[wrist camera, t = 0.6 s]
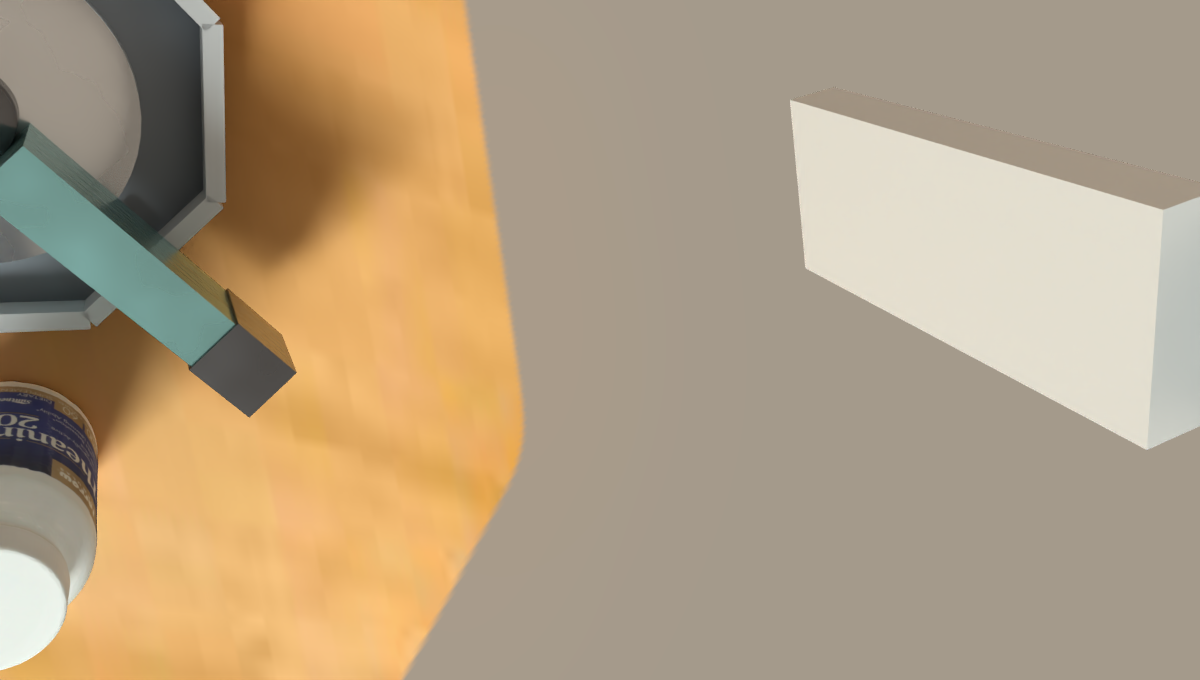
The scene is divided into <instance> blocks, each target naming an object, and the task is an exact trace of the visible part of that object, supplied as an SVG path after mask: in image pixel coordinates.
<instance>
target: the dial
mask: <svg viewBox="0 0 1200 680" xmlns="http://www.w3.org/2000/svg"><path fill="white" fill-rule="evenodd" d="M140 138H141V110H140V101H139V94H138V88H137V84H136V80H135V76H134V72H133V69H132V67H131V64H130V62H129V59H128V57H127V54H126V52H125V50H124V48H123V46H122V44H121V42H120V41H119V39H118V37H117V35H116V33H115V32H114V30H113V29H112V28H111V26H110V25H109V23H108V22H107V21H106V19H105V18H104V17H103V15H102V14H101V13H100V12H99V11H98V10H97V9H96V7H95V6H94V5H93V4H92V3H91V2H90V1H89V0H0V263H6V262H11V261H17V260H22V259H27V258H30V257H33V256H37V255H40V254H43V253H46V252H47V253H48V254H50V255H51V256H52V257H53V258H55V259H56V260H57V261H58V262H60V263H61V264H62V265H63V266H65V267H66V268H67V269H69V270H70V271H71V272H72V273H74V274H75V275H76V276H77V277H79V278H80V279H81V280H82V281H84V282H85V283H86V284H88V285H89V286H90V287H91V288H93V289H94V290H95V291H96V292H98V293H99V294H100V295H101V296H103V297H104V298H105V299H107V300H108V301H109V302H110V303H112V304H113V305H114V306H115V307H117V308H118V309H119V310H120V311H122V312H123V313H124V314H126V315H127V316H128V317H129V318H131V319H132V320H133V321H134V322H136V323H137V324H138V325H139V326H141V327H142V328H143V329H145V330H146V331H147V332H148V333H150V334H151V335H152V336H153V337H155V338H156V339H157V340H158V341H160V342H161V343H162V344H164V345H165V346H166V347H167V348H169V349H170V350H171V351H172V352H174V353H175V354H176V355H177V356H179V357H180V358H181V359H182V360H184V361H185V362H186V363H188V366H189V370H190V371H191V372H192V373H193V374H195V375H196V376H197V377H199V378H200V379H201V380H202V381H204V382H205V383H206V384H207V385H209V386H210V387H211V388H212V389H214V390H215V391H216V392H218V393H219V394H220V395H221V396H223V397H224V398H225V399H226V400H228V401H229V402H230V403H232V404H233V405H234V406H235V407H237V408H238V409H239V410H240V411H242V412H243V413H244V414H246V415H247V416H248V417H250V416H251V415H253V414H254V413H255V412H256V411H257V410H258V409H259V408H260V407H261V406H262V405H263V404H264V403H265V402H266V401H267V400H268V399H269V398H271V397H272V396H273V395H274V394H275V393H276V392H277V391H278V390H279V389H280V388H281V387H282V386H283V385H284V384H285V383H286V382H287V381H288V380H290V379H291V378H292V377H293V376H294V375H295V374H296V373H297V372H296V370H295V367H294V365H293V362H292V359H291V357H290V354H289V352H288V349H287V347H286V344H285V342H284V339H283V337H282V335H281V334H280V333H279V332H278V331H277V330H276V329H274V328H273V327H272V326H271V325H270V324H269V323H268V322H266V321H265V320H264V319H263V318H262V317H261V316H259V315H258V314H257V313H256V312H255V311H254V310H252V309H251V308H250V307H249V306H248V305H247V304H245V303H244V302H243V301H242V300H241V299H240V298H238V297H237V296H236V295H235V294H234V293H233V292H231V291H230V290H229V289H226V290H224V289H223V288H222V287H221V286H220V285H219V284H217V283H216V282H215V281H214V280H213V279H212V278H210V277H209V276H208V275H207V274H206V273H205V272H203V271H202V270H201V269H200V268H199V267H198V266H196V265H195V264H194V263H193V262H192V261H191V260H189V259H188V258H187V257H186V256H185V255H184V254H182V253H181V252H180V251H179V250H178V249H177V248H175V247H174V246H173V245H172V244H171V243H170V242H168V241H167V240H166V239H165V238H164V237H163V236H161V235H160V234H159V233H158V232H157V231H156V230H154V229H153V228H152V227H151V226H150V225H149V224H147V223H146V222H145V221H144V220H143V219H142V218H140V217H139V216H138V215H137V214H136V213H135V212H134V211H132V210H131V209H130V208H129V207H128V206H127V205H125V204H124V203H123V202H122V201H121V200H120V199H118V197H119V196H120V194H121V193H122V191H123V190H124V188H125V186H126V184H127V182H128V180H129V178H130V176H131V174H132V171H133V168H134V165H135V162H136V159H137V156H138V150H139V144H140Z"/></svg>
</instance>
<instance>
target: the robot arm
mask: <svg viewBox="0 0 1200 680" xmlns="http://www.w3.org/2000/svg"><path fill="white" fill-rule="evenodd" d="M790 104H791V115H792V126H793V137H794V148H795V157H796V169H797V180H798V191H799V202H800V213H801V224H802V234H803V244H804V255H805V266H806V269H808V270H810V271H812V272H814V273H816V274H817V275H820V276H822V277H823V278H825V279H827V280H829V281H831V282H832V283H835V284H836V285H838V286H840V287H842V288H844V289H846V290H848V291H849V292H851V293H853V294H855V295H857V296H859V297H861V298H863V299H864V300H866V301H868V302H870V303H872V304H874V305H876V306H878V307H880V308H881V309H883V310H885V311H887V312H889V313H891V314H893V315H895V316H896V317H898V318H900V319H902V320H904V321H906V322H908V323H910V324H911V325H913V326H915V327H917V328H919V329H921V330H923V331H925V332H927V333H929V334H930V335H932V336H934V337H936V338H938V339H940V340H941V341H943V342H945V343H947V344H949V345H951V346H953V347H955V348H956V349H958V350H960V351H962V352H964V353H966V354H968V355H970V356H972V357H973V358H975V359H977V360H979V361H981V362H983V363H985V364H986V365H988V366H990V367H992V368H994V369H996V370H998V371H1000V372H1002V373H1003V374H1005V375H1007V376H1009V377H1011V378H1013V379H1015V380H1017V381H1018V382H1020V383H1022V384H1024V385H1026V386H1028V387H1030V388H1032V389H1033V390H1035V391H1037V392H1039V393H1041V394H1043V395H1045V396H1047V397H1048V398H1050V399H1052V400H1054V401H1056V402H1058V403H1060V404H1062V405H1063V406H1065V407H1067V408H1069V409H1071V410H1073V411H1075V412H1077V413H1079V414H1080V415H1082V416H1084V417H1086V418H1088V419H1090V420H1092V421H1093V422H1095V423H1097V424H1099V425H1101V426H1103V427H1105V428H1107V429H1108V430H1110V431H1112V432H1114V433H1116V434H1118V435H1120V436H1122V437H1124V438H1125V439H1127V440H1129V441H1131V442H1133V443H1135V444H1137V445H1139V446H1140V447H1142V448H1144V449H1146V450H1148V449H1150V448H1152V447H1155V446H1157V445H1159V444H1161V443H1163V442H1165V441H1168V440H1170V439H1172V438H1174V437H1177V436H1179V435H1181V434H1183V433H1185V432H1188V431H1190V430H1192V429H1194V428H1196V427H1199V426H1200V182H1197V181H1193V180H1190V179H1186V178H1181V177H1178V176H1174V175H1170V174H1166V173H1163V172H1158V171H1154V170H1151V169H1147V168H1143V167H1139V166H1136V165H1132V164H1128V163H1124V162H1120V161H1116V160H1112V159H1109V158H1104V157H1101V156H1097V155H1093V154H1089V153H1085V152H1082V151H1078V150H1074V149H1070V148H1066V147H1062V146H1059V145H1055V144H1051V143H1047V142H1043V141H1039V140H1035V139H1032V138H1028V137H1024V136H1020V135H1016V134H1012V133H1008V132H1005V131H1001V130H997V129H993V128H989V127H985V126H982V125H978V124H974V123H970V122H966V121H962V120H958V119H955V118H951V117H947V116H943V115H939V114H935V113H931V112H928V111H924V110H920V109H916V108H912V107H908V106H904V105H900V104H897V103H893V102H889V101H885V100H881V99H877V98H874V97H869V96H866V95H862V94H858V93H854V92H850V91H847V90H843V89H839V88H835V87H832V88H829V89H825V90H822V91H818V92H815V93H812V94H808V95H805V96H802V97H798V98H795V99H791V100H790Z"/></svg>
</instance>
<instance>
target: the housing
mask: <svg viewBox="0 0 1200 680" xmlns="http://www.w3.org/2000/svg"><path fill="white" fill-rule="evenodd" d="M89 1H90V2H91V3H92V4H93V5H94V6H95V7H96V9H97V10H98V11H99V12H100V13H101V14H102V15H103V17H104V18H105V19H106V21H107V22H108V23H109V25H110V26H111V28H112V29H113V30H114V32H115V33H116V35H117V37H118V39H119V41H120V42H121V44H122V46H123V48H124V50H125V52H126V54H127V57H128V59H129V62H130V64H131V67H132V69H133V72H134V76H135V80H136V84H137V88H138V94H139V101H140V110H141V138H140V144H139V150H138V156H137V159H136V162H135V165H134V168H133V171H132V174H131V176H130V178H129V180H128V182H127V184H126V186H125V188H124V190H123V191H122V193H121V194H120V196H119V197H118V199H120V200H121V201H122V202H123V203H124V204H125V205H127V206H128V207H129V208H130V209H131V210H132V211H134V212H135V213H136V214H137V215H138V216H139V217H140V218H142V219H143V220H144V221H145V222H146V223H147V224H149V225H150V226H151V227H152V228H153V229H154V230H156V231H157V232H158V233H159V234H160V235H161V236H163V237H164V238H165V239H166V240H167V241H168V242H170V243H171V244H172V245H173V246H174V247H175V248H177V249H178V250H179V249H180V248H181V247H182V246H184V245H185V244H186V243H187V242H188V241H189V240H190V239H191V238H192V237H193V236H194V235H195V234H196V233H197V232H199V231H200V230H201V229H202V228H203V227H204V226H205V225H206V224H207V223H208V222H209V221H210V220H211V219H212V218H214V217H215V216H216V215H217V214H218V213H219V212H220V211H221V210H222V209H223V205H222V203H226V164H225V102H224V41H223V24H222V23H221V22H220V21H218V20H219V19H220V18H219V16H218V15H217V14H216V13H215V12H214V11H213V10H212V9H211V8H210V7H209V6H208V5H207V4H206V3H205V2H204V1H203V0H89ZM116 308H117V307H115V306H114V305H113V304H112V303H110V302H109V301H108V300H107V299H105V298H104V297H103V296H101V295H100V294H99V293H98V292H96V291H95V290H94V289H93V288H91V287H90V286H89V285H88V284H86V283H85V282H84V281H82V280H81V279H80V278H79V277H77V276H76V275H75V274H74V273H72V272H71V271H70V270H69V269H67V268H66V267H65V266H63V265H62V264H61V263H60V262H58V261H57V260H56V259H55V258H53V257H52V256H51V255H50V254H48V253H47V252H46V253H43V254H40V255H37V256H33V257H30V258H27V259H22V260H17V261H11V262H6V263H0V333H7V332H33V331H59V330H84V329H90V328H91V323H93V324H94V325H95V326H98V325H99V324H100V323H101V322H102V321H103V320H104V319H105V318H106V317H108V316H109V315H110V314H111V313H112V312H113V311H114V310H115V309H116Z"/></svg>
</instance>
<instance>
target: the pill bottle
mask: <svg viewBox="0 0 1200 680" xmlns="http://www.w3.org/2000/svg"><path fill="white" fill-rule="evenodd" d="M97 473H98V449H97V442H96V438H95V434H94V431H93V428H92V426H91V424H90V423H89V421H88V419H87V417H86V416H85V415H84V414H83V412H82V411H81V410H80V409H79V407H78V406H76V405H75V404H74V403H72V402H71V401H69V400H68V399H67V398H66V397H64V396H63V395H61V394H59V393H58V392H55V391H53V390H50V389H48V388H45V387H42V386H39V385H35V384H30V383H21V382H17V381H7V382H0V670H3V669H7V668H10V667H12V666H15V665H18V664H20V663H22V662H24V661H26V660H28V659H30V658H32V657H33V656H35V655H36V654H38V653H39V652H40V651H41V650H43V649H44V648H45V647H46V646H47V645H48V644H49V643H50V642H51V641H52V640H53V639H54V637H55V636H56V635H57V633H58V632H59V630H60V628H61V626H62V624H63V622H64V620H65V616H66V612H67V605H68V604H69V603H70V602H71V601H72V600H73V599H74V598H75V597H76V596H77V595H78V593H79V592H80V591H81V589H82V588H83V587H84V585H85V583H86V581H87V580H88V578H89V575H90V573H91V570H92V567H93V564H94V560H95V554H96V546H97Z"/></svg>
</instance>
